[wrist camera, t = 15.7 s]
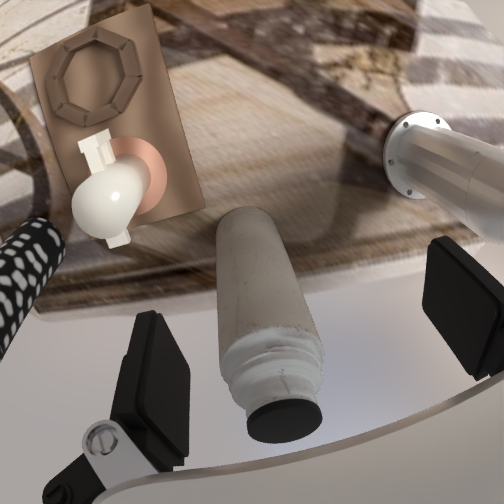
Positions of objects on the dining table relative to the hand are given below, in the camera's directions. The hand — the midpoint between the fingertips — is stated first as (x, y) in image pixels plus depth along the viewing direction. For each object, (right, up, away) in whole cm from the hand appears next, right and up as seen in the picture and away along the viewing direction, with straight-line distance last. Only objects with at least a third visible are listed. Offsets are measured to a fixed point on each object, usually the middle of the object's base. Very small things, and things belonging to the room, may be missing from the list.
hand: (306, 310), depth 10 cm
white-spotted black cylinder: (-32, +3, +30) cm, 44 cm away
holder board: (-18, +17, +23) cm, 34 cm away
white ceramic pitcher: (-17, +12, +25) cm, 32 cm away
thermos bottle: (-3, +4, +33) cm, 33 cm away
